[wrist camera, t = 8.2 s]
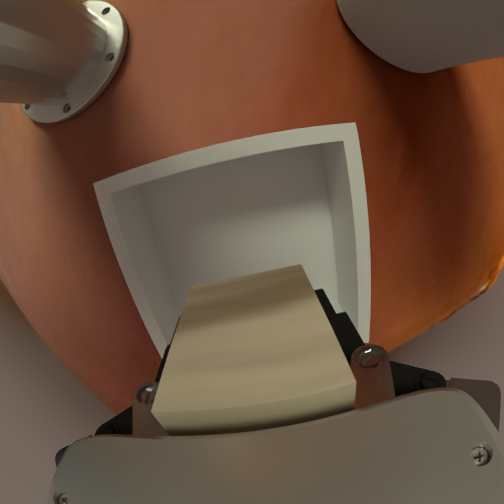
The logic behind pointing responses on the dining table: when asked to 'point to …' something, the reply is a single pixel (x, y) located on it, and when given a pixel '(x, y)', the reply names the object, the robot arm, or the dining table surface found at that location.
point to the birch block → (252, 358)
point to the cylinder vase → (427, 31)
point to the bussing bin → (243, 221)
